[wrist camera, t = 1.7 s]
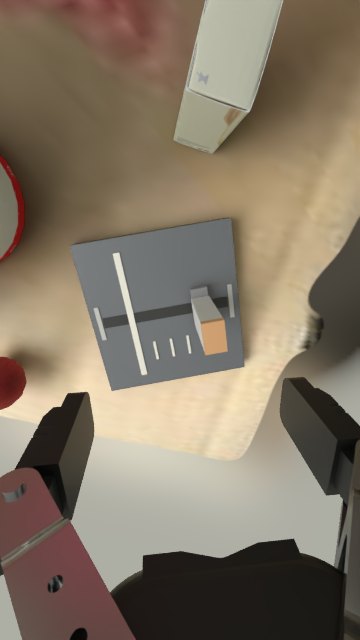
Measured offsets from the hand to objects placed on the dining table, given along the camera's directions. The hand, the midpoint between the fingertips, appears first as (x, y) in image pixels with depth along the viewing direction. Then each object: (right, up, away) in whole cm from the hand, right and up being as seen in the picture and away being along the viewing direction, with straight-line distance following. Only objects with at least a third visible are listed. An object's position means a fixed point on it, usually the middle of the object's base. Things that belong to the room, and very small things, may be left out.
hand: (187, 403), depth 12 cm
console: (-2, +5, +23) cm, 23 cm away
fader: (+2, +5, +21) cm, 22 cm away
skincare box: (+2, +24, +16) cm, 29 cm away
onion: (-21, -2, +24) cm, 32 cm away
